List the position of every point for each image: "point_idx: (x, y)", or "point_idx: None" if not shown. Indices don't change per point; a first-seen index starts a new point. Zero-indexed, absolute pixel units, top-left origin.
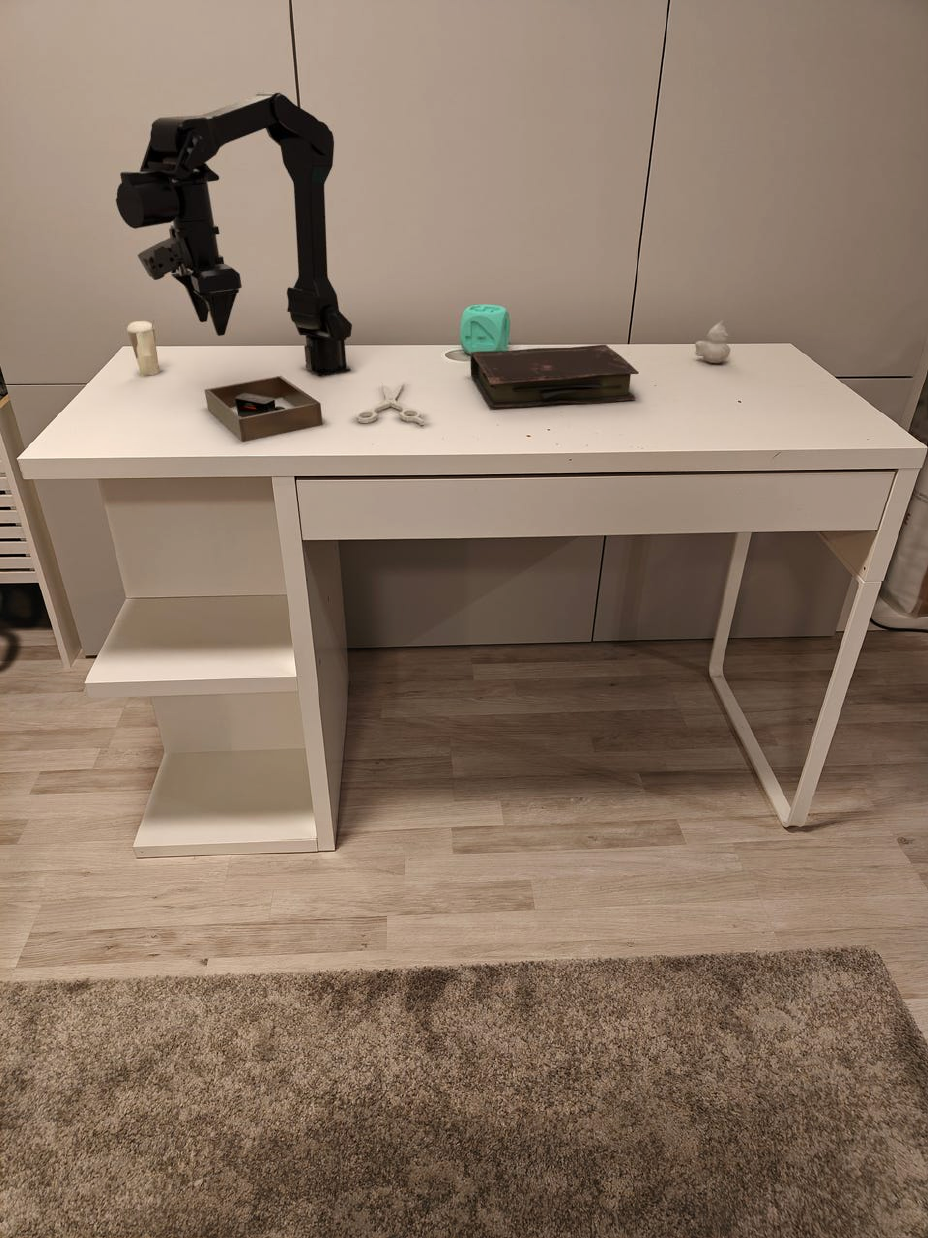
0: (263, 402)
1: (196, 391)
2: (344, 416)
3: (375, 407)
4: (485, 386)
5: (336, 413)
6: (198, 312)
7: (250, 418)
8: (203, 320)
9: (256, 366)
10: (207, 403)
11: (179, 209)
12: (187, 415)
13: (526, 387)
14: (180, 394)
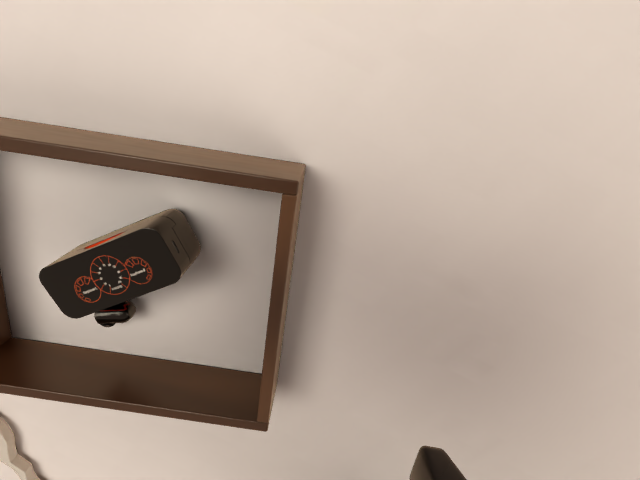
0: (52, 275)
1: (514, 223)
2: (39, 405)
3: (20, 471)
4: None
5: (69, 403)
6: None
7: None
8: (417, 468)
9: (567, 452)
10: (293, 167)
11: None
12: (307, 82)
13: None
14: (533, 165)
